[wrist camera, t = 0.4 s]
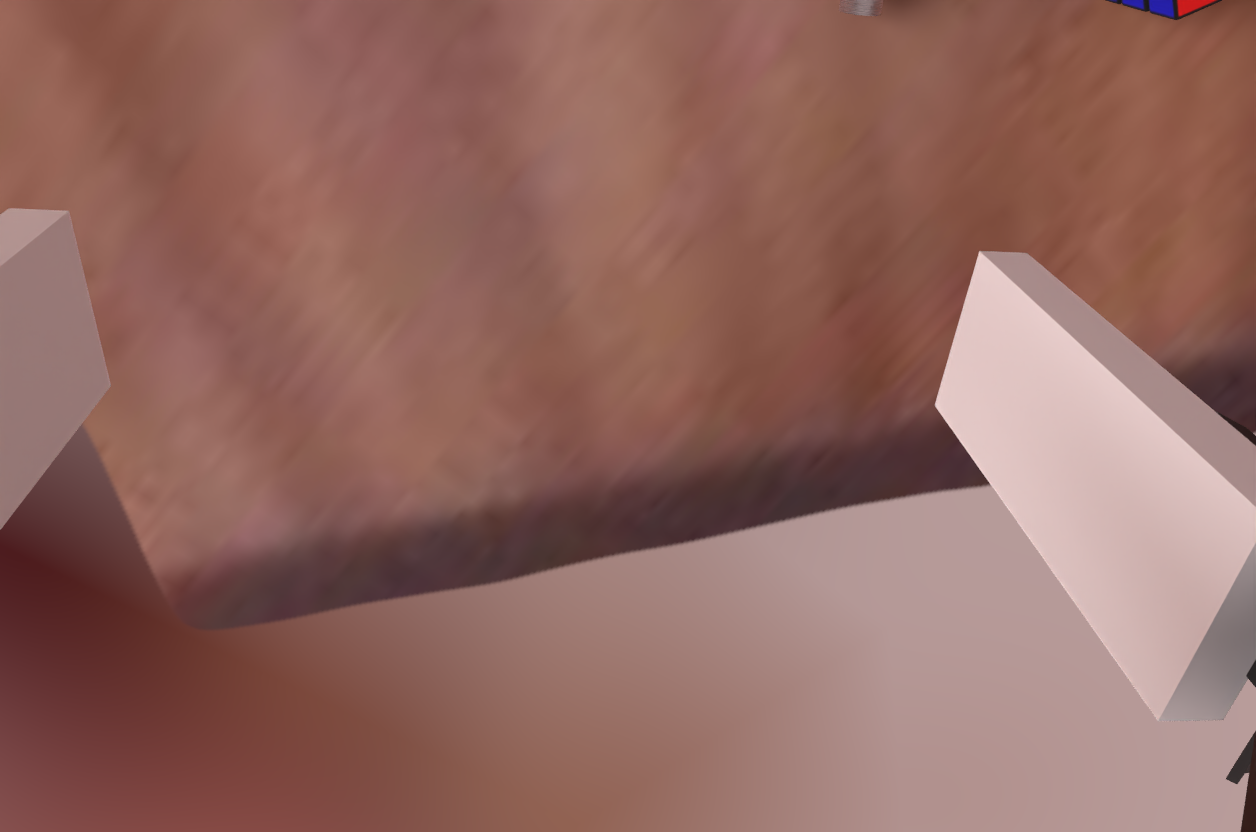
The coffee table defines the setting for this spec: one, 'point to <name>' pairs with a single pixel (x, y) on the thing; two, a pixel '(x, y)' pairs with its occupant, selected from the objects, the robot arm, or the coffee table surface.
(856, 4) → the stand
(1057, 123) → the coffee table surface
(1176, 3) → the puzzle toy
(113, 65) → the coffee table surface
